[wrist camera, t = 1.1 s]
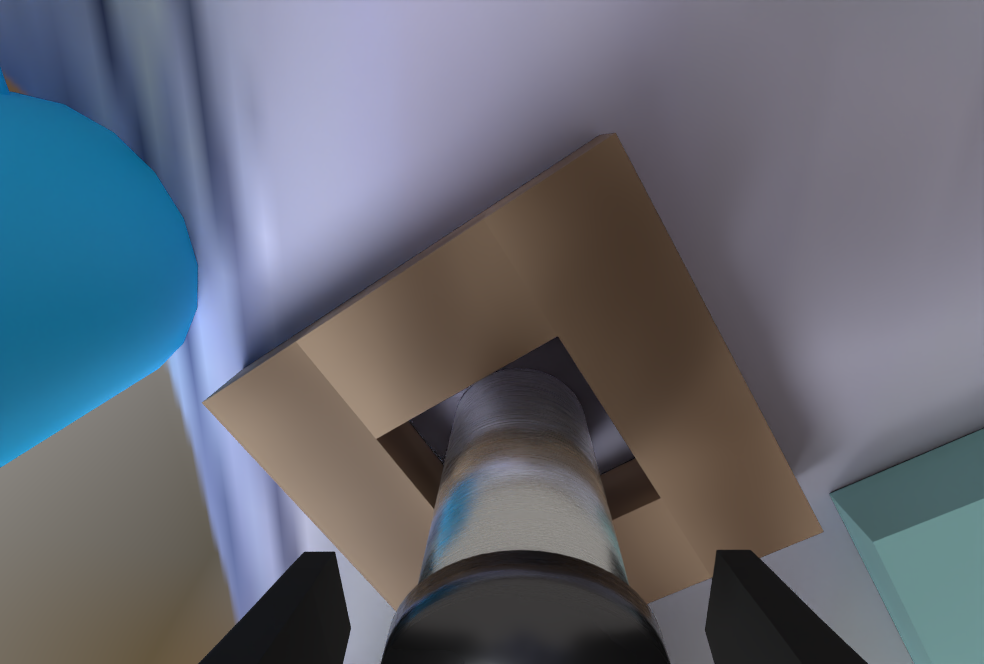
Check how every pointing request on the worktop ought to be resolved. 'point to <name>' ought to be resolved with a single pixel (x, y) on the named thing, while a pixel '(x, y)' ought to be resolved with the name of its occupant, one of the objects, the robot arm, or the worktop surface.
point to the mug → (81, 269)
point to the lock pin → (522, 543)
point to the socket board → (926, 548)
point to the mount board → (501, 340)
